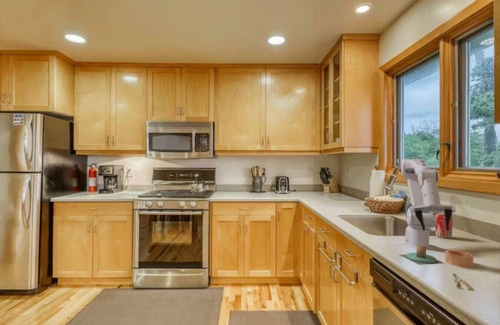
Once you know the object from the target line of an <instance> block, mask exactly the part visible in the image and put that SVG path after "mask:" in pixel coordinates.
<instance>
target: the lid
mask: <svg viewBox="0 0 500 325" xmlns="http://www.w3.org/2000/svg"><path fill="white" fill-rule="evenodd" d="M406 254H407V256H406V257H407V258H408V259H410V260H413V261H416V262H421V263H435V262H436V260H437V258H436V257H435V256H433V255H429V254H427V249H426V247H425V246H421V245H417V249H416V252H408V253H406ZM408 259H407V260H408ZM410 260H409V261H410ZM413 261H412V262H413Z"/></svg>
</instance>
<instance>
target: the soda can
mask: <svg viewBox="0 0 500 325" xmlns="http://www.w3.org/2000/svg"><path fill="white" fill-rule="evenodd" d="M452 234H453V217H452V216H451V218H450V222H449V231H447V230H446V221H445V216H444V212H437V214H436V216H435V236H437V237H438V238H441V239H450V238H452V236H453V235H452Z"/></svg>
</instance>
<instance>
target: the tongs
mask: <svg viewBox="0 0 500 325" xmlns="http://www.w3.org/2000/svg"><path fill="white" fill-rule="evenodd" d="M452 276H453V277H454V279H455V286H456V288H457V289H459V290H460V289H461V290H463V289H464V288H463V287H461V286H459V283H458V280H457V279H459V282H461V283H462V284H464V285H465V286H466V287H467V290H468V291H473V290H474V288H473V287H471V286H470V284H469V283H468V282H467V281H466V280H464V279H462V278H460V277H458V275H457V274H456V273H452Z"/></svg>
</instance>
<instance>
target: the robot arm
mask: <svg viewBox="0 0 500 325" xmlns="http://www.w3.org/2000/svg"><path fill="white" fill-rule="evenodd" d="M400 172H401V176H402V178H404V179H406V183H407V189H408V192H409V198H410V202H411V206H410V207H408V209H407V211H406V223H407V227H406V228H405V234H404V235H405V237H404V239H405V241H404V242H403V245H406V246H409V247H411V248H414V249H416V250H417V245H421V246H425V247H426V250H434V249H435V248H434V247H432V246H430V230H431V229H432V228H433V227H435V226H434V225H435V216H434V214H433V213H444V216H445V221H446V230H447V231H449V222H450V218H451V217H452V215H453V213H456V206H455V205H453V204H452V205H450V204H448V205H447V204H441V201H440V193H439V188H438V187H439V185H438V181H439V171H438V170H437V169H436V168H434V169H432V168H430V167H429V165H427V164H426V162H425V159H424V158H420V159H417V158H415V159H413V158H411V159H410V158H408V159H407V158H402V159H401V160H400Z"/></svg>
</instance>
